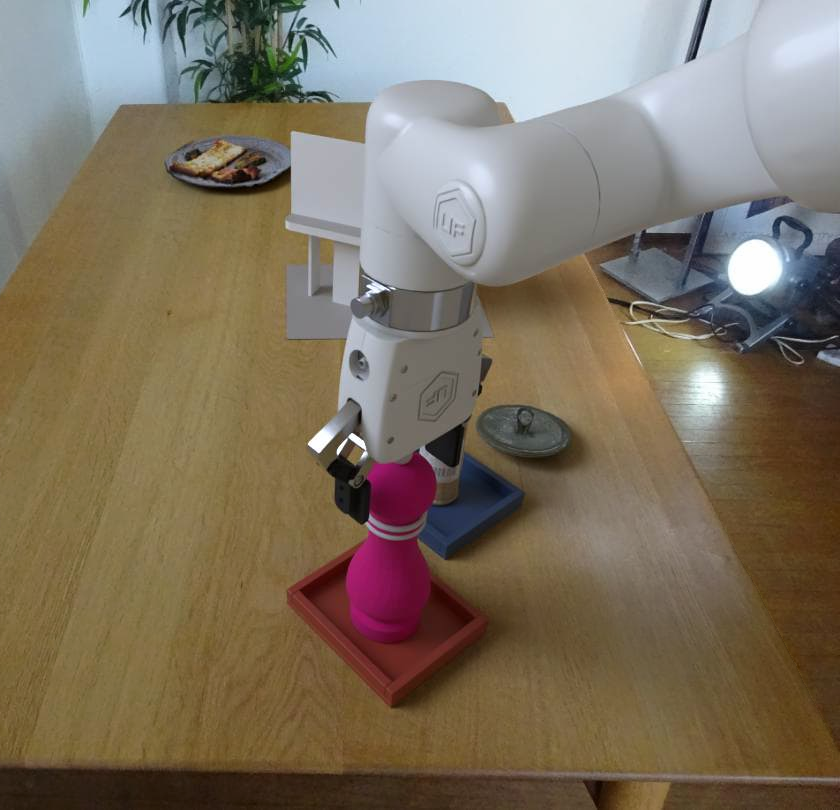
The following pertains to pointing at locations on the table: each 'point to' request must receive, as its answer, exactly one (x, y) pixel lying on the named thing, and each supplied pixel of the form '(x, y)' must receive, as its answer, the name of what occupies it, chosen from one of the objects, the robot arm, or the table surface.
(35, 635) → the table surface
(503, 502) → the blue tray
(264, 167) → the food plate
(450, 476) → the sprinkles bottle
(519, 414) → the lid
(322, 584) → the red tray
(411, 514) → the pepper mill
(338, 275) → the architectural model
